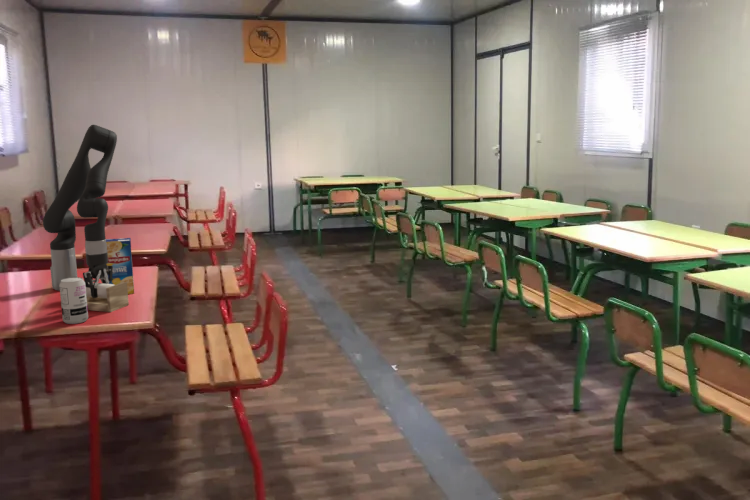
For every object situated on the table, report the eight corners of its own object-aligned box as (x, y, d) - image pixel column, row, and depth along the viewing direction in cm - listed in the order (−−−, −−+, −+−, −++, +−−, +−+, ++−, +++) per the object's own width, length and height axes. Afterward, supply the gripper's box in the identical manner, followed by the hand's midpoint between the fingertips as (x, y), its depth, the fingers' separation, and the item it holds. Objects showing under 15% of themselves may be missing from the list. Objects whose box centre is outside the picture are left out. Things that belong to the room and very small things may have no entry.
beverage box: (134, 293, 275) (130, 240, 270) (105, 296, 271) (101, 242, 267) (134, 289, 281) (130, 237, 277) (106, 292, 277) (101, 239, 273)
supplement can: (67, 318, 241) (64, 277, 238) (91, 317, 241) (88, 276, 239) (59, 324, 233) (55, 282, 230) (84, 324, 233) (80, 282, 231)
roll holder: (72, 309, 252) (69, 285, 251) (93, 301, 263) (91, 278, 261) (109, 312, 247) (107, 288, 246) (129, 304, 258) (127, 281, 256)
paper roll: (82, 298, 254) (81, 283, 253) (92, 294, 259) (91, 280, 258) (108, 300, 250) (107, 285, 249) (118, 297, 255) (117, 283, 254)
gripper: (101, 247, 259) (104, 290, 262) (74, 254, 245) (78, 299, 249) (117, 248, 257) (121, 291, 260) (91, 255, 243) (95, 301, 246)
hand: (100, 295), depth 254 cm, fingers closed on paper roll, 5 cm apart
